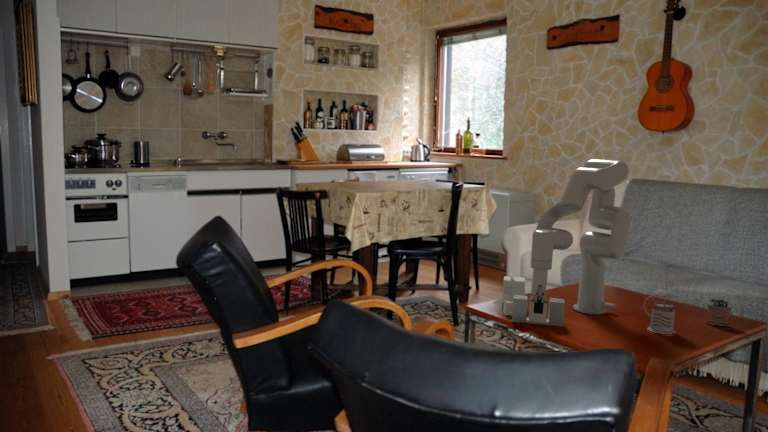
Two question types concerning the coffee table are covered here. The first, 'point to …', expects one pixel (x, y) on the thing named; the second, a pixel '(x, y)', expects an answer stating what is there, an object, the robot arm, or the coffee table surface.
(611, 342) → the coffee table surface
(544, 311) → the module
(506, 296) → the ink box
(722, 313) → the lighter
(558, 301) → the grey u-shaped block
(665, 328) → the french press
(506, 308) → the block
